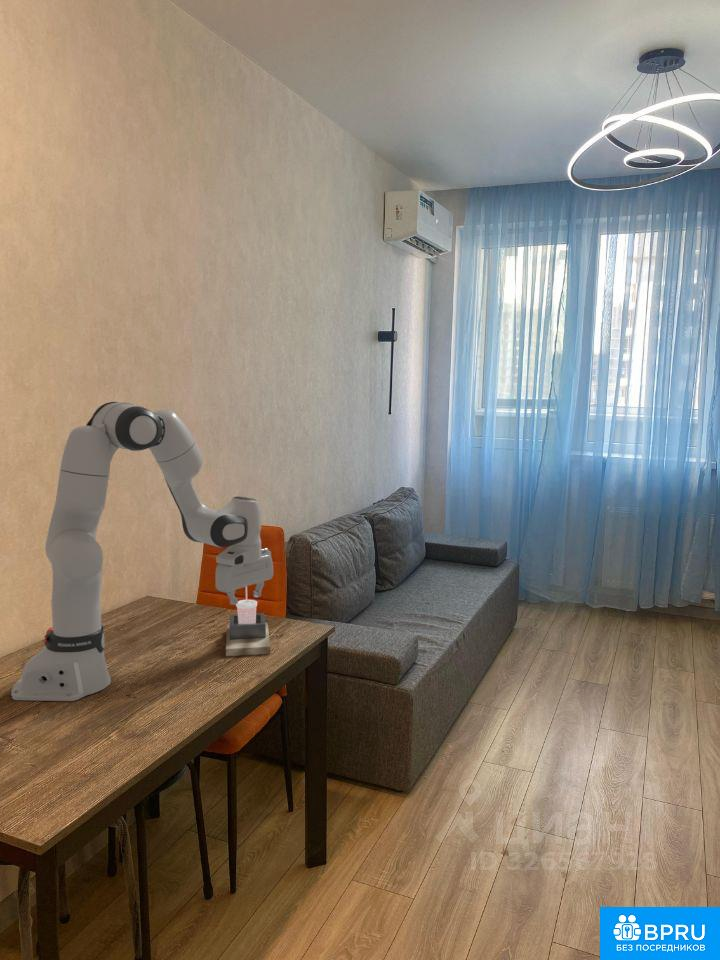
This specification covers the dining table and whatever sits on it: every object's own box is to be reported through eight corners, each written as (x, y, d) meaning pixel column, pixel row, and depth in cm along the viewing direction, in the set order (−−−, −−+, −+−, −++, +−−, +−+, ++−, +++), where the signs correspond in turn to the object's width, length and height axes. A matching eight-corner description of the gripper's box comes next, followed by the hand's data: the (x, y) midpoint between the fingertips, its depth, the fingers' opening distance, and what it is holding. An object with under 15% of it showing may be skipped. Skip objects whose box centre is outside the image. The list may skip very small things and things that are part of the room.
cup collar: (229, 639, 210) (229, 626, 209) (230, 627, 220) (229, 614, 219) (265, 637, 212) (265, 624, 211) (264, 626, 221) (264, 613, 221)
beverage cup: (244, 628, 220) (243, 581, 218) (262, 631, 217) (261, 584, 215) (232, 634, 214) (231, 587, 212) (250, 637, 212) (249, 589, 210)
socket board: (226, 656, 203) (225, 649, 203) (227, 631, 223) (226, 624, 223) (270, 653, 205) (270, 646, 205) (267, 629, 225) (267, 622, 224)
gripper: (262, 545, 222) (262, 590, 224) (211, 557, 206) (211, 606, 208) (278, 548, 219) (278, 594, 221) (227, 561, 202) (228, 610, 204)
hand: (245, 600), depth 214 cm, fingers open, 8 cm apart
